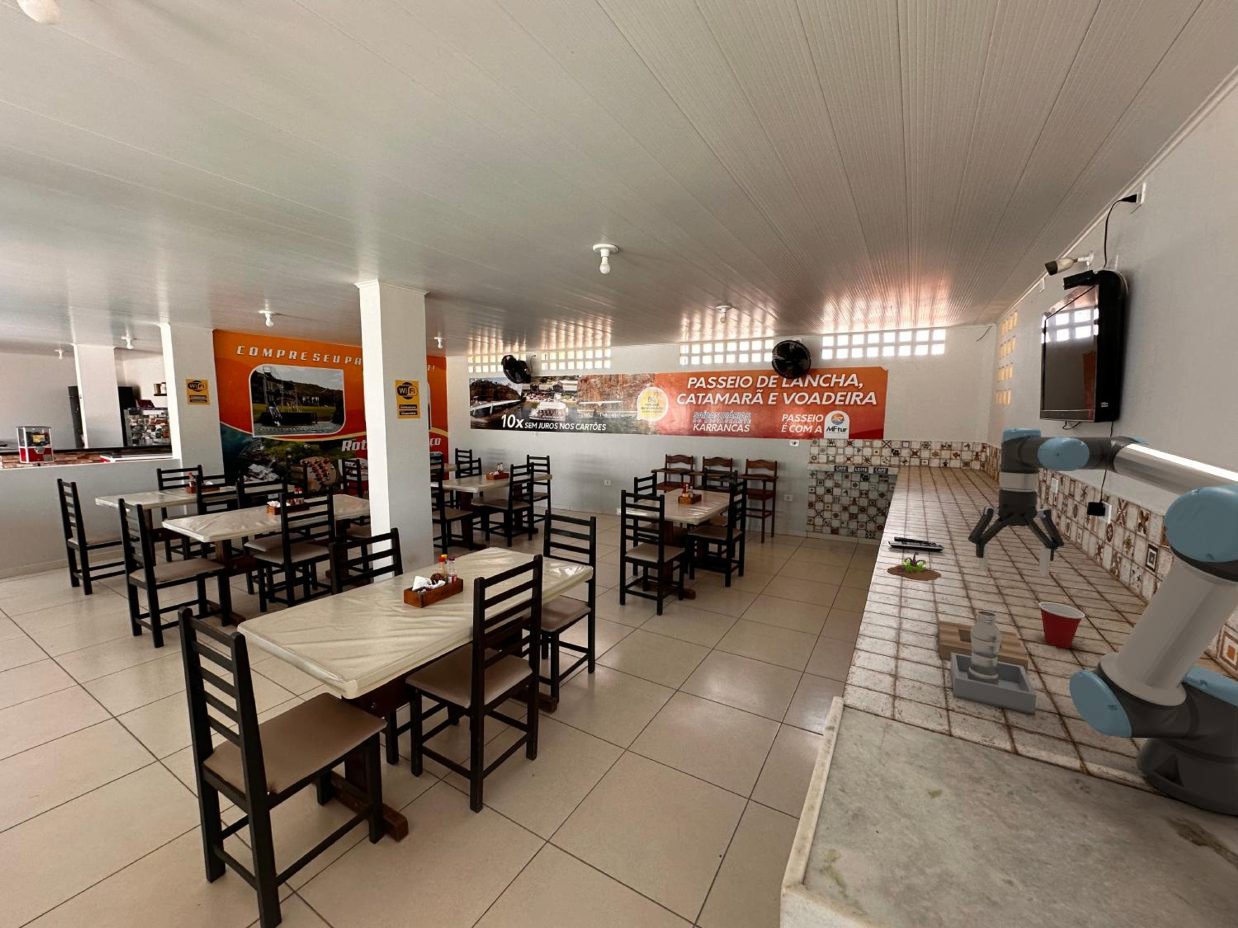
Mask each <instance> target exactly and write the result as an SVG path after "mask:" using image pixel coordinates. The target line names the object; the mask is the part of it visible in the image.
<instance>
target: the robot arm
mask: <svg viewBox="0 0 1238 928" xmlns="http://www.w3.org/2000/svg"><path fill="white" fill-rule="evenodd" d="M1001 440H1002V441H1000V442H1001V443H1000V447H1001V448H1000V473H999V488H1000V489H999V490H998V506H997V508H993V507H990V506H989V507H988V506H985V507H984V508H983V512H982V515H981V516H980V518H979V520H978V522H977V523H976V525H975V526H974V528H973V530H972V531H971V533H970V534H969V536H968V538H967V540H968V541H969V542H971V543H972V544H975V546H976V547H975V556H976V558H978V570H980V571H982V572H984V573H987V572H988V567H989V566H988V565H989V564H988V563H989V562H988V561H989V548H990V547H989V546H987V544H988V543H989V542H990V541H991V540H992V539H993V538H994V537H996V535H998V534H999V533H1000V532H1001V531H1002V530H1003V529H1005V528H1007V527H1008V526H1009V527H1018V526H1019V527H1027V528H1029V530H1030V531H1031V532H1032V534H1033V535H1035V537H1036V538H1037V539H1038V540H1039V541H1040V542H1041V543H1042V545H1044V546H1040V548H1039V550H1040V551H1039V565H1038V572H1039V573H1041V574H1043V575H1045V576H1049V575H1050V565H1051V562H1053V561H1054V560H1055V559H1054V558H1055V551H1056V550H1058V548H1061V547H1062V548H1063V547H1064V546H1065V542H1064V540H1063V538H1062V537H1061V535H1060V532H1059V530H1058V529H1057V526H1056V525H1055V522H1054V520H1053V519H1052V511H1051V510H1050V509H1047V508H1043V507H1042V508H1040V509H1037V507H1036V506H1037V503H1038V502H1037V501H1038V492H1037V491H1036V490H1037V489H1038V487H1039V485H1038V484H1039V469H1044V470H1051V471H1055V472H1074V471H1077V470H1081V471H1082V470H1087V471H1089V470H1090V471H1091V470H1092V471H1093V470H1094V471H1095V470H1098V471H1099V470H1100V471H1101V470H1102V471H1103V470H1104V471H1108V472H1111V473H1115V474H1118V475H1120V476H1124V477H1127V478H1129V479H1132V480H1135V481H1138V482H1141V483H1144V484H1146V485H1149V486H1153V487H1155V488H1157V489H1161V490H1164V491H1167V492H1169V493H1172V494H1175V495H1178V496H1179V497H1177V498H1176V499H1175V500H1174V501H1173V502H1172V503H1171V504H1170V506H1169V507H1168V509H1167V510H1166V512H1165V515H1164V518H1163V527H1166V528H1167V530H1166V531H1164V534H1165V537H1166V540H1167V541H1168V543H1169V547H1168V549H1169V552H1170V553H1171V555H1172V556H1173V557H1174V558H1175V561H1174V562H1173V564H1172V565H1171V567H1170V569H1169V570H1168V572H1167V573H1166V575H1165V577H1164V578H1163V580H1162V581H1161V583H1160V585H1159V587H1158V588H1157V589H1156V591H1155V593H1154V595H1153V596H1152V597H1151V600H1150V601H1149V602H1148V604H1147V606H1146V607H1145V609H1144V611H1143V612H1142V614H1141V616H1140V617H1139V619H1138V620H1137V622H1136V623H1135V625H1134V627H1133V628H1132V630H1131V632H1130V633H1129V635H1128V636H1127V638H1126V640H1125V641H1124V643H1123V644H1122V646H1121V648H1120V649H1119V651H1118V652H1117V651H1113V652H1108V653H1106V654H1104V655H1103V656H1102V657H1101V658H1100V660H1099V662H1098V663H1097V664H1096V666H1095V668H1094V669H1093V670H1088V669H1082V670H1078V671H1075V672H1074V673H1073V674H1072V675H1071V676H1070V679H1069V684H1068V685H1069V693H1070V697H1071V699H1072V702H1073V705H1074V707H1075V708H1076V709H1075V710H1076V711H1077V712H1078V714H1079V716H1080V717H1081V719H1083V720H1084V721H1085V722H1086V724H1087V725H1088V726H1090V727H1091V728H1092V729H1093V730H1095V731H1096V732H1097V733H1099V734H1102V735H1104V736H1107V737H1114V738H1115V737H1117V738H1121V739H1132V738H1133V739H1147V740H1145V742H1144V744H1143V745H1142V747H1141V748H1140V749H1139V750H1138V752H1137V754H1136V765H1137V767H1138V769H1139V770H1140V771H1141V773H1143V774H1144V775H1142V777H1143V778H1144V779H1145V780H1146V781H1148V782H1149V783H1150V784H1152V785H1153V786H1155V787H1156V788H1158V789H1160V790H1161V791H1162V792H1164V793H1167V794H1168V795H1170V796H1172V797H1174V798H1176V799H1179V800H1181V801H1183V802H1185V803H1188V804H1191V805H1194V806H1196V807H1198V808H1202V809H1206V810H1209V811H1211V812H1215V813H1220V814H1226V815H1233V816H1238V681H1236V680H1234V679H1232V678H1230V677H1227V676H1226V675H1224V674H1221V673H1219V672H1215V671H1213V670H1209V669H1207V668H1204V667H1201V666H1197V665H1196V663H1197V662H1198V661H1199V659H1201V658H1202V656H1203V654H1204V653H1205V652H1206V650H1207V649H1208V648H1209V646H1210V645H1211V643H1212V642H1213V640H1214V639H1215V638H1216V636H1217V635H1218V634H1219V632H1220V631H1221V630H1222V629H1223V627H1224V625H1225V624H1226V622H1227V621H1228V620H1229V619H1230V617H1231V616H1232V615H1233V613H1234V612H1235V610H1236V609H1237V608H1238V469H1236V468H1233V467H1229V466H1225V465H1221V464H1218V463H1214V462H1211V461H1207V460H1203V459H1199V458H1196V457H1192V456H1187V455H1184V454H1180V453H1177V452H1173V451H1170V450H1165V449H1162V448H1158V447H1153V446H1152V445H1151V446H1150V445H1149V444H1148V443H1146V441H1145V440H1144V439H1143V438H1141V437H1140V438H1139V437H1135V436H1124V435H1119V436H1118V435H1117V436H1042V431H1041V429H1040V428H1035V427H1011V428H1010V427H1009V428H1006V429H1004V430H1003V432H1002V438H1001ZM996 514H997V515H998V518H997V519H996V520H995V521H994V522H993V524H991V526H990V527H988V526H989V525H990V523H991V522H992V520H993V518H994V517H995V516H996ZM1036 517H1038V518H1039V519H1040V520H1041V522H1042V525H1043V526H1044V529H1045V531H1046V532H1047V534H1048V536H1047V534H1046V533H1045V532H1044V531H1043V529H1041V528H1040V526H1039V524H1038V523H1037V522H1036V521H1035V520H1034V519H1035V518H1036Z"/></svg>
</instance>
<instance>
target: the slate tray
mask: <svg viewBox="0 0 1238 928" xmlns="http://www.w3.org/2000/svg"><path fill="white" fill-rule="evenodd" d="M970 662H971V656H967V655H962V654H957V653H952V652H951V661H950V668H949V669H950V670H949V671H950V678H951V684H952V691H953V697H955V698H958V699H962V700H967V701H972V702H976V703H979V704H980V703H981V704H985V705H989V706H992V707H997V708H1002V709H1005V710H1011V711H1015V712H1019V713H1023V714H1027V715H1033V716H1035V715H1036V704H1037V703H1036V702H1037V701H1036V700H1037V694H1036V692H1035V689H1034V687H1033V685H1032V683H1031V680H1030V678H1029V675H1028V672H1027V673H1026V671H1025V669H1024V667H1023V666H1019V665H1014V664H1009V663H1004V662H999V661H997V673H998V677H999V684H998V685H994V684H989V683H984V682H980V681H975V680H970V679H968V677H967V673H968V669H969V667H970Z"/></svg>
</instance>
